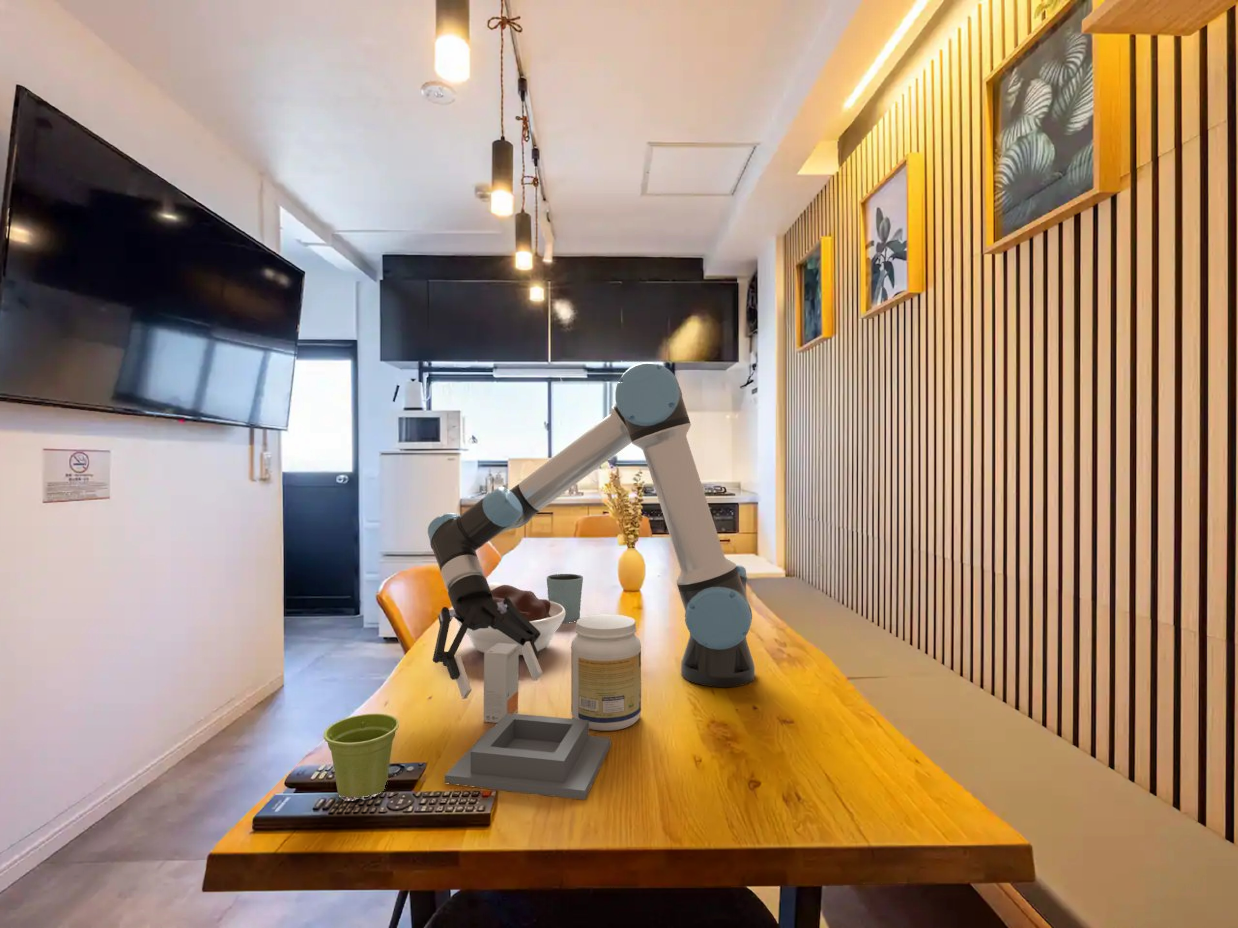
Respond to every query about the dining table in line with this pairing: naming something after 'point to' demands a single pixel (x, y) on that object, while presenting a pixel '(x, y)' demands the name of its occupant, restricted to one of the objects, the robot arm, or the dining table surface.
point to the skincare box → (500, 681)
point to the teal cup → (566, 594)
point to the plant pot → (361, 752)
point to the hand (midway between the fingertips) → (503, 685)
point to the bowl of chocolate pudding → (535, 610)
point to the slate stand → (533, 757)
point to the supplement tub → (606, 672)
